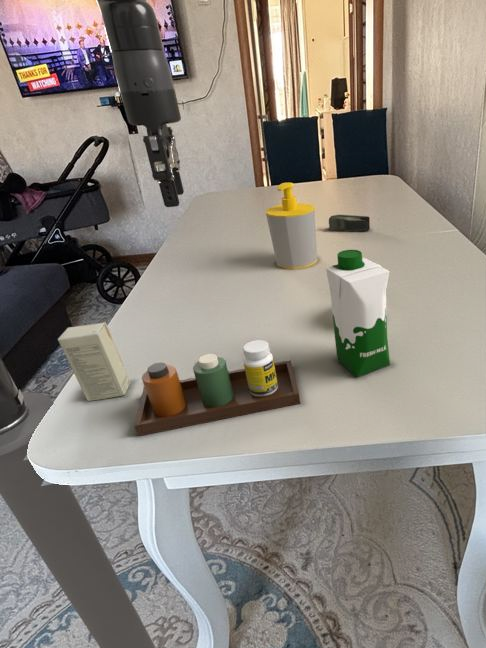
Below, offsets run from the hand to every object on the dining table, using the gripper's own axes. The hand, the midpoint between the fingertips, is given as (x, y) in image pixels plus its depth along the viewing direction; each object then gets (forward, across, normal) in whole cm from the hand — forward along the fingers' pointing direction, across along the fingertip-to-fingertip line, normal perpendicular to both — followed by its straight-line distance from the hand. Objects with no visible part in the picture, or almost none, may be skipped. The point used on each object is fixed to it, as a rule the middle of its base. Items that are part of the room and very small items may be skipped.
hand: (175, 200), depth 77 cm
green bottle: (+28, +18, +2) cm, 33 cm away
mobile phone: (+29, -67, +42) cm, 84 cm away
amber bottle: (+28, +18, -6) cm, 34 cm away
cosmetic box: (+29, +9, -17) cm, 35 cm away
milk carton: (+29, +14, +27) cm, 42 cm away
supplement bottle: (+28, +18, +9) cm, 35 cm away
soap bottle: (+29, -43, +22) cm, 57 cm away
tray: (+29, +18, +2) cm, 34 cm away
